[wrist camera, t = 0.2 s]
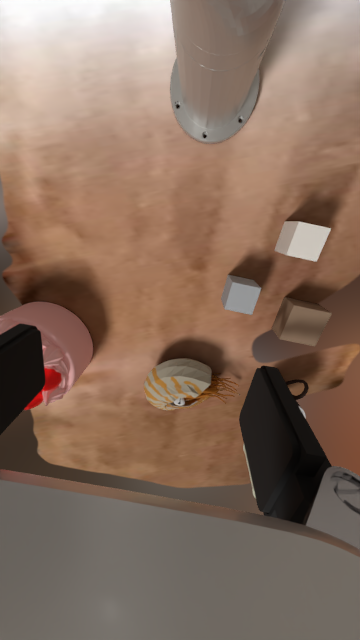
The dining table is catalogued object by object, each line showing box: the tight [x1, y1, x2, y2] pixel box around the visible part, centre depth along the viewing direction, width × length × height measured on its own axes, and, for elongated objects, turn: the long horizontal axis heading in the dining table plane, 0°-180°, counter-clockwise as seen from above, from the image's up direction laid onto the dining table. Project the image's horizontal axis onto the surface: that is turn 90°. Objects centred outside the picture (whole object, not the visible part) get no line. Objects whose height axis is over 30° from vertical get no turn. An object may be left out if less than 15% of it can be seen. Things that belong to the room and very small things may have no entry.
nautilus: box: [144, 358, 240, 410], centre depth 51 cm, size 8×22×15 cm
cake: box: [0, 302, 93, 410], centre depth 46 cm, size 20×20×14 cm
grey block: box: [221, 275, 261, 315], centre depth 42 cm, size 5×5×6 cm
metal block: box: [272, 297, 331, 346], centre depth 44 cm, size 7×7×5 cm
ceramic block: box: [274, 221, 331, 262], centre depth 38 cm, size 5×5×6 cm
